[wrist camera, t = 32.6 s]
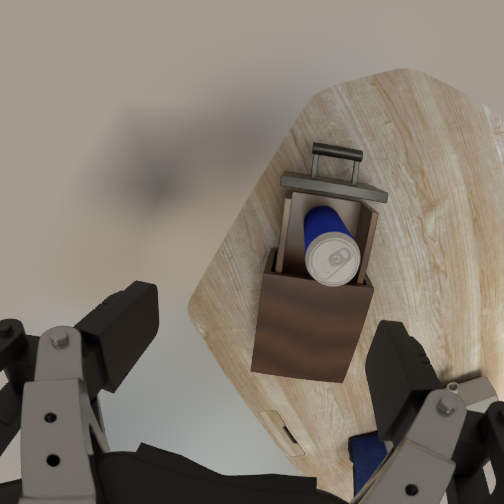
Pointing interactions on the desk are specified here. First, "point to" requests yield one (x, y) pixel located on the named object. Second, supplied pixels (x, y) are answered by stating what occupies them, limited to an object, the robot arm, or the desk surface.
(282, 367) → the cabinet
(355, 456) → the book
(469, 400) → the tank
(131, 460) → the robot arm
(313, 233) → the beverage can
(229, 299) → the desk surface
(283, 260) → the drawer
